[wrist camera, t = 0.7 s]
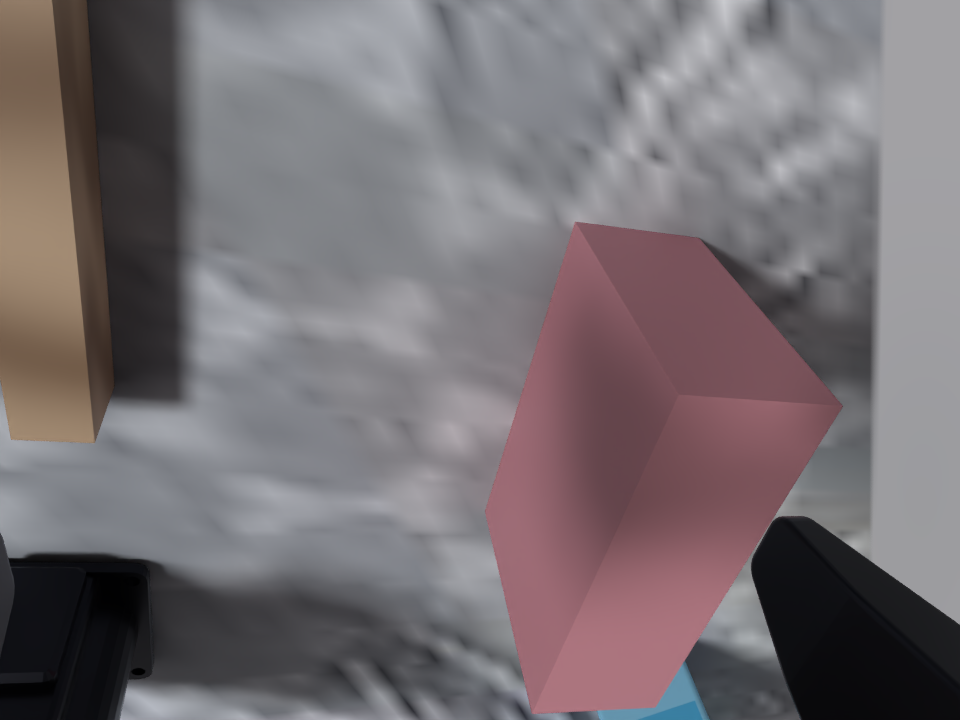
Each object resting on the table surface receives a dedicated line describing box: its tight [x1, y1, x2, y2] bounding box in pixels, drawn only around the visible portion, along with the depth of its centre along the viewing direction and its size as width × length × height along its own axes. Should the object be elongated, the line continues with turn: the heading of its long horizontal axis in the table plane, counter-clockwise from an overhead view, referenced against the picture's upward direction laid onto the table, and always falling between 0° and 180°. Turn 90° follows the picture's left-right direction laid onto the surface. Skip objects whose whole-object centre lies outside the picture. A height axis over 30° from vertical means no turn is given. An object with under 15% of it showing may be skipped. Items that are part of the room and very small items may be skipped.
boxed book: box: [485, 222, 843, 714], centre depth 22 cm, size 12×4×8 cm, turn 168°
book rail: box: [0, 0, 115, 443], centre depth 16 cm, size 18×2×2 cm, turn 168°
